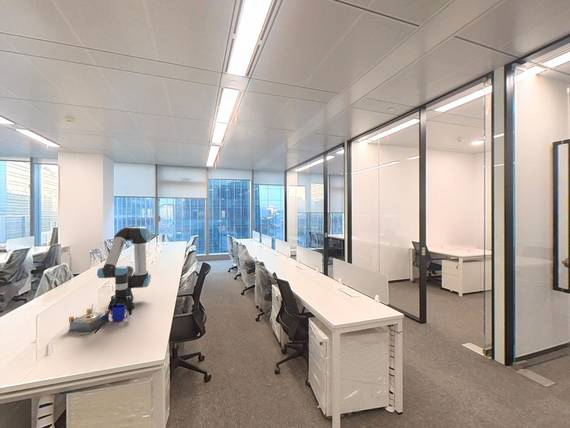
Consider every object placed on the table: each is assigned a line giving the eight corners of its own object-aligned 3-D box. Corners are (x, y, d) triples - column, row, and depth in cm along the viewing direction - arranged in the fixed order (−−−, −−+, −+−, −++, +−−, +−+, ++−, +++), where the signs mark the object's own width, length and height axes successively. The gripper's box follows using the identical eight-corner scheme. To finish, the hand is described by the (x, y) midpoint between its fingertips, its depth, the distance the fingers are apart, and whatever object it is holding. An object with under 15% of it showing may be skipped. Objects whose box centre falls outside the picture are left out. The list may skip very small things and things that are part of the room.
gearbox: (87, 320, 184) (87, 308, 183) (110, 321, 182) (110, 309, 182) (64, 331, 166) (64, 318, 166) (90, 332, 165) (90, 319, 165)
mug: (123, 323, 179) (123, 309, 178) (108, 321, 181) (108, 307, 181) (132, 318, 187) (132, 305, 187) (118, 317, 189) (118, 303, 189)
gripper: (101, 289, 181) (101, 320, 181) (133, 290, 179) (133, 322, 179) (109, 286, 188) (109, 316, 188) (140, 287, 186) (140, 317, 186)
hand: (121, 319), depth 184 cm, fingers closed on mug, 11 cm apart
